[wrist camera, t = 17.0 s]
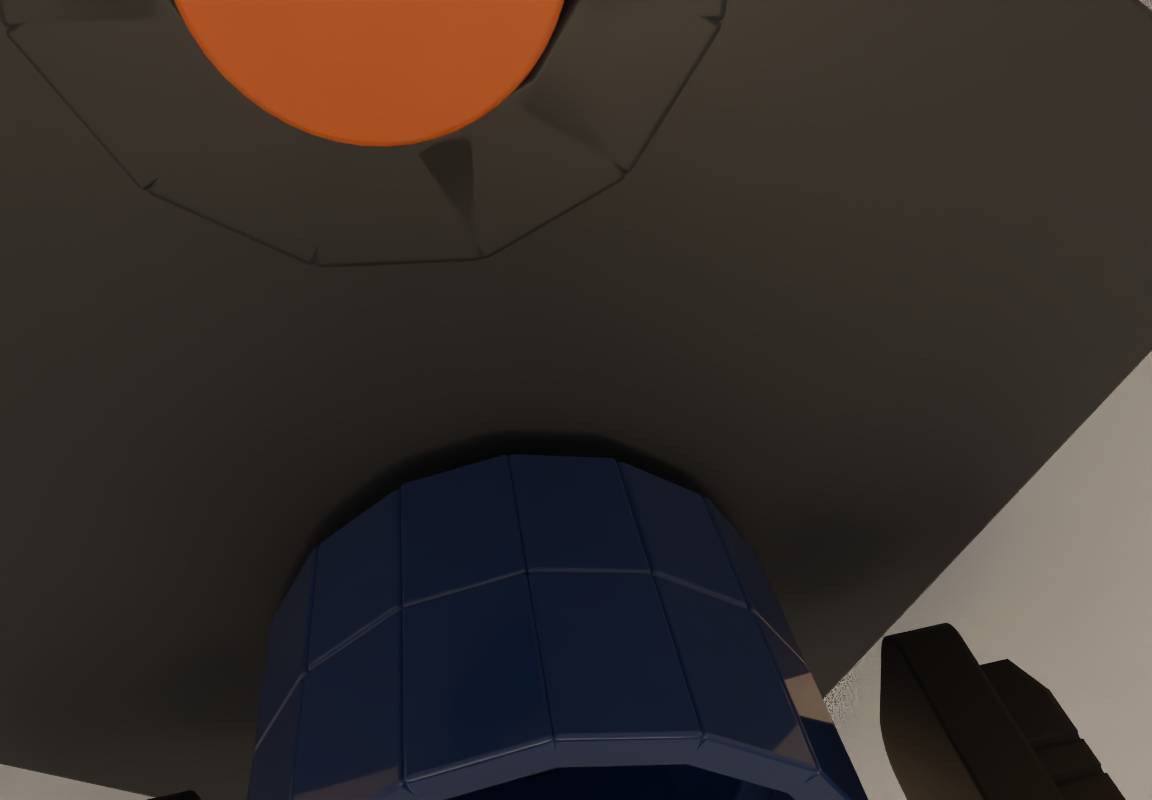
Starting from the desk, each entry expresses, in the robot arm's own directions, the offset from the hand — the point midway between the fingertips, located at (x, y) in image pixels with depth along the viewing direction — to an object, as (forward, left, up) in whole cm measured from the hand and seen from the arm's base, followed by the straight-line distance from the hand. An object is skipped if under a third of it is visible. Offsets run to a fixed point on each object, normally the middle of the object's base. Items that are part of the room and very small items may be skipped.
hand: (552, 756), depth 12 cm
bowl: (0, 0, -2) cm, 2 cm away
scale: (-2, -1, -4) cm, 5 cm away
